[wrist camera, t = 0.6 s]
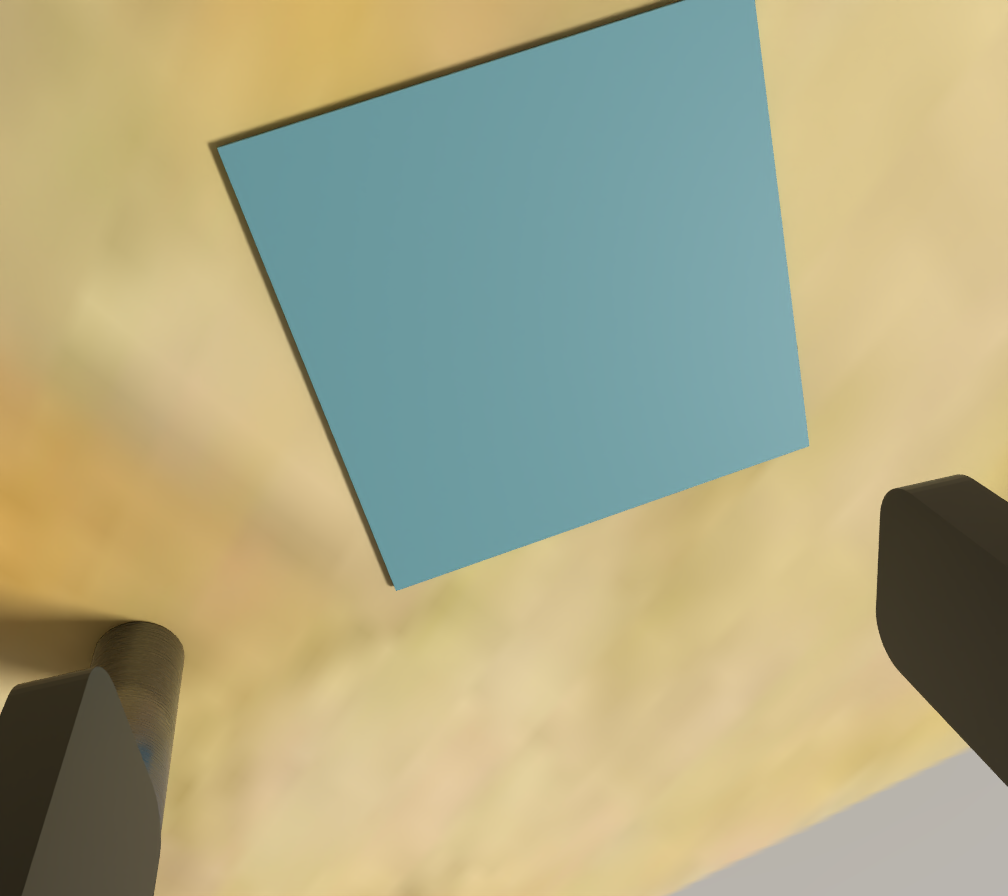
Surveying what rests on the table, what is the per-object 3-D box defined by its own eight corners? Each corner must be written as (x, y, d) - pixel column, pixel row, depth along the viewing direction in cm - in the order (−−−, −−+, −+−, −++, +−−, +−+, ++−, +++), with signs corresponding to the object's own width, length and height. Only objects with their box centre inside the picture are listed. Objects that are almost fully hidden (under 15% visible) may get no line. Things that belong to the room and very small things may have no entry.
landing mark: (217, 146, 23) (217, 148, 23) (748, -21, 24) (752, -21, 24) (395, 587, 30) (396, 591, 30) (805, 443, 31) (808, 445, 31)
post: (78, 639, 29) (2, 894, 21) (162, 610, 29) (119, 852, 21) (117, 701, 30) (61, 964, 22) (198, 673, 30) (170, 924, 22)
